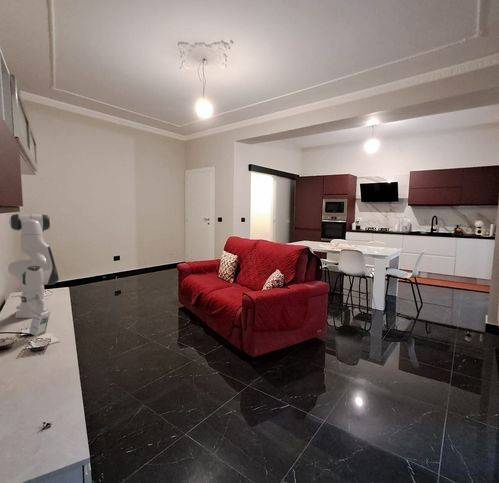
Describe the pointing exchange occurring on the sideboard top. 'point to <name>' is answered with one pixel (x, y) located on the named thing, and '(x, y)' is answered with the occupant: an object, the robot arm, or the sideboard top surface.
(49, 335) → the mat
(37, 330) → the syrup box
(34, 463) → the sideboard top surface
